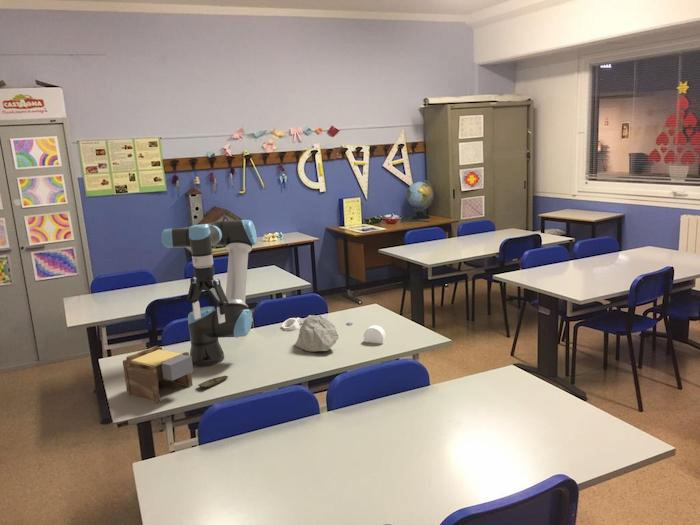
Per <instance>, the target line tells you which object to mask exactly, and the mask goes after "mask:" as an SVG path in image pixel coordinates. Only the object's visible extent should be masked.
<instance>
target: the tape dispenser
mask: <svg viewBox="0 0 700 525" xmlns="http://www.w3.org/2000/svg"><path fill="white" fill-rule="evenodd" d="M363 342H364V343H372V344H382V345H384V344H385V343H386V342H387V335H386V332H385V330H384V329H383V327H381V326H380V325H374V324H373V325H371V326H369V327H368V328H367V329H366V330H365V331H364V333H363Z"/></svg>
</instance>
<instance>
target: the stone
mask: <svg viewBox="0 0 700 525" xmlns="http://www.w3.org/2000/svg"><path fill="white" fill-rule="evenodd" d="M228 378H229V376H228V375H223V376H217V377H214V378H211V379H207V380H204V381H203V382H201V383H198V384H197V386H198V387H201V388H210V387H213V386H216V385H217V384H219V383H221V382H223V381H225V380H227V379H228Z"/></svg>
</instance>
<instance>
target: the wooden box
mask: <svg viewBox="0 0 700 525" xmlns="http://www.w3.org/2000/svg"><path fill="white" fill-rule="evenodd" d="M156 350H163V347H162V346H158V345H154V346H153V347H149V348H147V349H144V350H141V351H139V352H137V353H134V354H131V355H128V356H126V359H123V360H122V366H123V372H124V380H125V387H126V394H127V396H132V397H136V398H139V399H142V400H145V401H149V402H153V403H154V404H159V403H161V396H160V389H159V388H160V387H159V382H161V381H166V382H171V383H173V384H178V385H182V386H186V387H187V388H191V387H192V386H193V376H192V372H191V373H189V374H186V375H184V376H182V377H180V378H178V379H175V380H173V381H171V380H167V379H163V372H162V365H161V364H160V365H158V366H146V365H142V364H137V363H133V362H131V360H133V359H135V358H138V357H141V356H143V355H146V354H148V353H151V352H153V351H156ZM181 355H187V356H189V355H190V351H189V352H187V351H185V352H182V353H181Z"/></svg>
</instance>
